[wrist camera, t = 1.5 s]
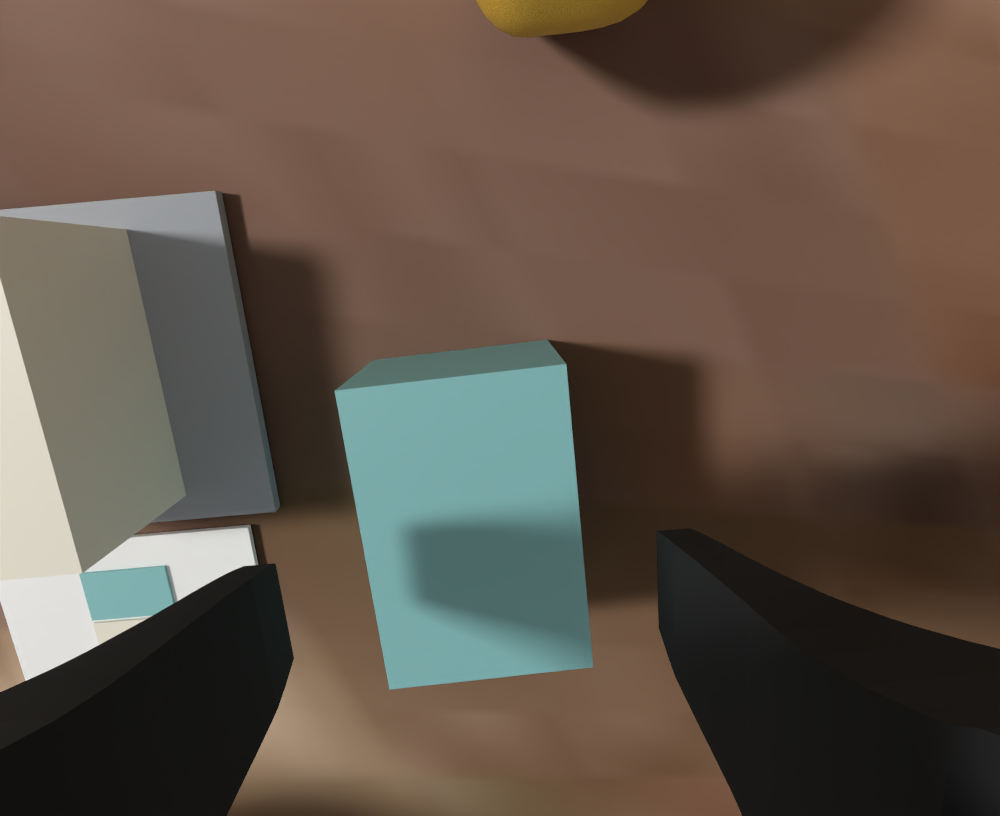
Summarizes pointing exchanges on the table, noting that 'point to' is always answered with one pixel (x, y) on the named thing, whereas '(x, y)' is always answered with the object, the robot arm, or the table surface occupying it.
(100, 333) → the brick cream
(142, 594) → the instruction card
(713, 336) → the table surface
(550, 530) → the brick teal
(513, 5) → the dumbbell
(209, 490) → the build board
